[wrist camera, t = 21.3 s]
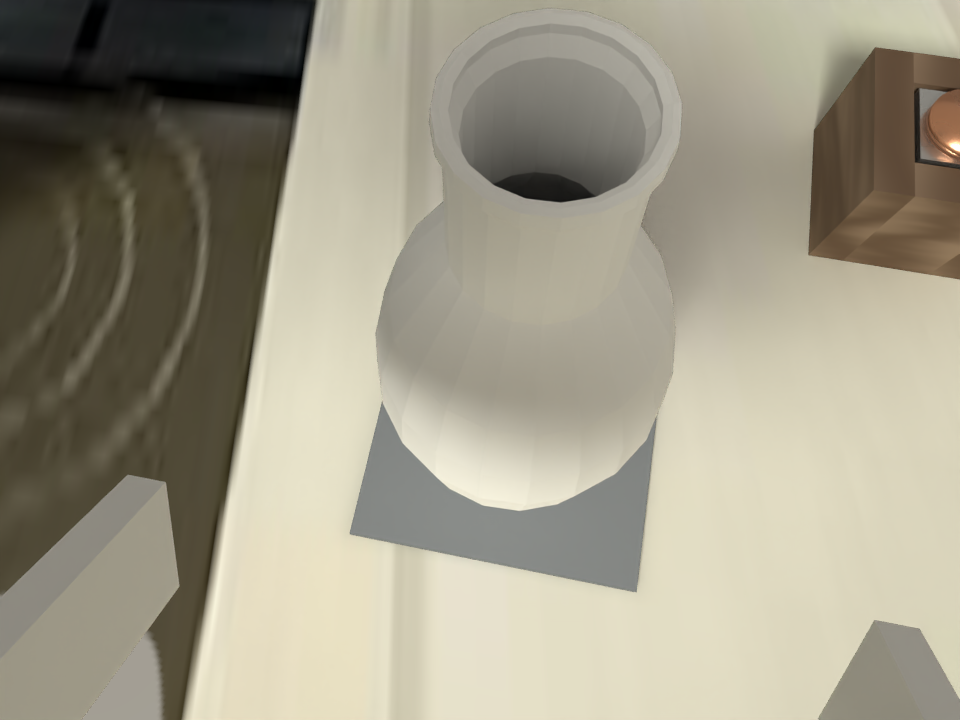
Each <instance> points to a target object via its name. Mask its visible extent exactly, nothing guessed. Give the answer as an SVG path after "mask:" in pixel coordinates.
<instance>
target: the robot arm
mask: <svg viewBox="0 0 960 720" xmlns="http://www.w3.org/2000/svg"><path fill="white" fill-rule="evenodd" d="M178 588H179V580H178V572H177V565H176V557H175V549H174V542H173V534H172V526H171V519H170V511H169V503H168V496H167V488H166V482H162V481H157V480H152V479H147V478H141V477H136V476H131V475H127V476H126V477H125V478H124V479H123V480H122V481H121V482H120V483H119V484H118V485H117V486H116V487H115V488H114V489H113V490H111V491H110V492H109V493H108V494H107V495H106V496H105V497H104V498H103V499H102V500H101V501H100V502H99V503H98V504H97V505H96V506H95V507H94V508H93V509H92V510H91V511H90V512H89V513H88V514H87V515H86V516H85V517H83V518H82V519H81V520H80V521H79V522H78V523H77V524H76V525H75V526H74V527H73V528H72V529H71V530H70V531H69V532H68V533H67V534H66V535H65V536H64V537H63V538H62V539H61V540H60V541H59V542H58V543H57V544H56V545H54V546H53V547H52V548H51V549H50V550H49V551H48V552H47V553H46V554H45V555H44V556H43V557H42V558H41V559H40V560H39V561H38V562H37V563H36V564H35V565H34V566H33V567H32V568H31V569H30V570H29V571H28V572H27V573H25V574H24V575H23V576H22V577H21V578H20V579H19V580H18V581H17V582H16V583H15V584H14V585H13V586H12V587H11V588H10V589H9V590H8V591H7V592H6V593H5V594H4V595H3V596H2V597H1V598H0V720H82V719H83V717H84V716H85V715H86V713H87V712H88V711H89V709H90V708H91V706H92V705H93V704H94V702H95V701H96V700H97V698H98V697H99V695H100V694H101V693H102V691H103V690H104V689H105V687H106V686H107V685H108V683H109V682H110V680H111V679H112V678H113V676H114V675H115V674H116V672H117V671H118V670H119V668H120V667H121V665H122V664H123V663H124V661H125V660H126V659H127V657H128V656H129V654H130V653H131V652H132V650H133V649H134V648H135V646H136V645H137V644H138V642H139V641H140V639H141V638H142V637H143V635H144V634H145V633H146V631H147V630H148V629H149V627H150V626H151V625H152V623H153V622H154V620H155V619H156V618H157V616H158V615H159V614H160V612H161V611H162V610H163V608H164V607H165V605H166V604H167V603H168V601H169V600H170V599H171V597H172V596H173V595H174V593H175V592H176V590H177V589H178ZM818 719H819V720H960V699H959V698H958V696H957V694H956V692H955V691H954V689H953V687H952V685H951V684H950V682H949V680H948V678H947V676H946V675H945V673H944V671H943V669H942V668H941V666H940V664H939V662H938V661H937V659H936V657H935V655H934V653H933V652H932V650H931V648H930V646H929V645H928V643H927V641H926V639H925V637H924V636H923V634H922V632H921V630H920V629H918V628H913V627H908V626H903V625H898V624H892V623H887V622H882V621H877V620H874V622H873V624H872V625H871V627H870V629H869V631H868V632H867V634H866V636H865V638H864V639H863V641H862V643H861V645H860V646H859V648H858V650H857V652H856V653H855V655H854V657H853V659H852V660H851V662H850V664H849V666H848V667H847V669H846V671H845V673H844V674H843V676H842V678H841V679H840V681H839V683H838V685H837V686H836V688H835V690H834V692H833V693H832V695H831V697H830V699H829V700H828V702H827V704H826V706H825V707H824V709H823V711H822V713H821V714H820V716H819V718H818Z"/></svg>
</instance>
